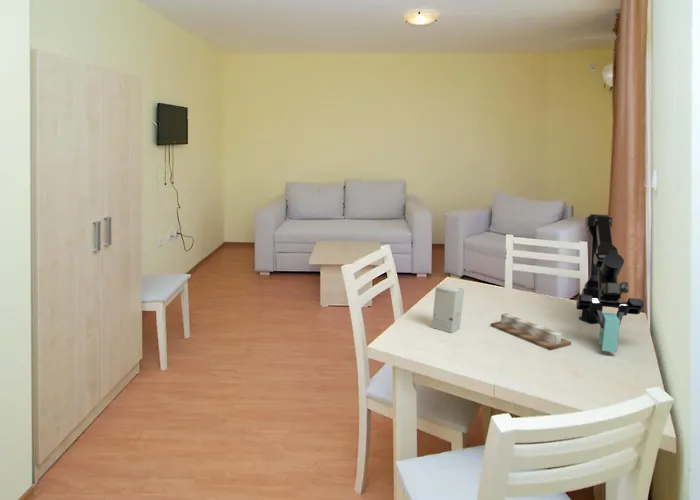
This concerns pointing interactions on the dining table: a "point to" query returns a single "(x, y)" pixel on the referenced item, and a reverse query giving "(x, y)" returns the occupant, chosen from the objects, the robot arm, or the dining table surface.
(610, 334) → the teal rectangular block
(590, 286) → the robot arm
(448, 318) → the skincare box
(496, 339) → the dining table surface
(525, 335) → the rail board
